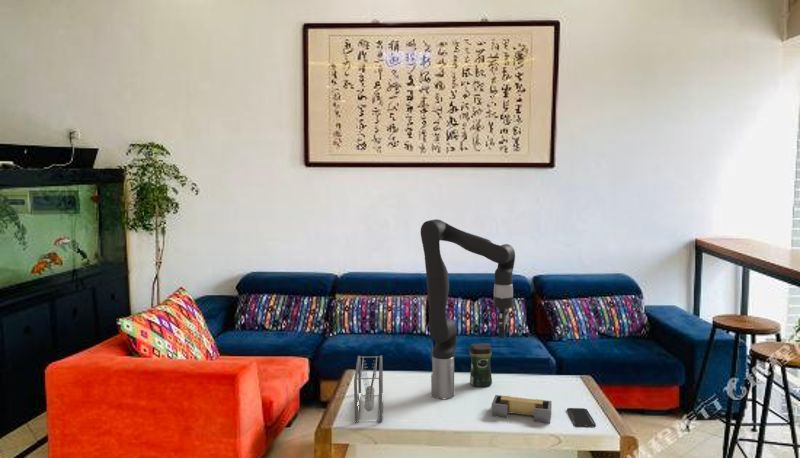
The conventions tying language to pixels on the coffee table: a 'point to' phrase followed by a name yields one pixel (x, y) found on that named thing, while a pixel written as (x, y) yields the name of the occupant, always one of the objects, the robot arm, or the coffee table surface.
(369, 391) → the newton's cradle
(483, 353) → the coffee jar
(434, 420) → the coffee table surface
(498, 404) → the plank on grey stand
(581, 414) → the phone
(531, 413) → the link bar
